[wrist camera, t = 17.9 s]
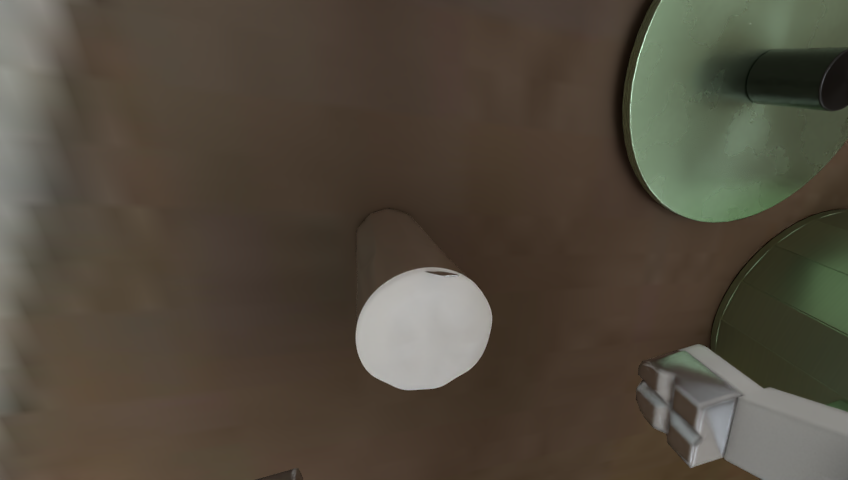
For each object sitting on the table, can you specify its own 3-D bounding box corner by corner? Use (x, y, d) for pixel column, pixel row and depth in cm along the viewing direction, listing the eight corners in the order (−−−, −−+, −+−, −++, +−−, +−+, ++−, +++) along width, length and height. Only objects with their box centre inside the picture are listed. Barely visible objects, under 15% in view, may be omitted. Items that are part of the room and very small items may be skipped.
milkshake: (437, 179, 21) (532, 272, 12) (427, 277, 23) (502, 421, 14) (341, 177, 19) (365, 278, 10) (341, 280, 21) (360, 439, 12)
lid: (828, 185, 27) (924, 209, 23) (608, 242, 24) (669, 280, 20) (912, -125, 20) (1069, -173, 16) (621, -88, 18) (716, -133, 14)
